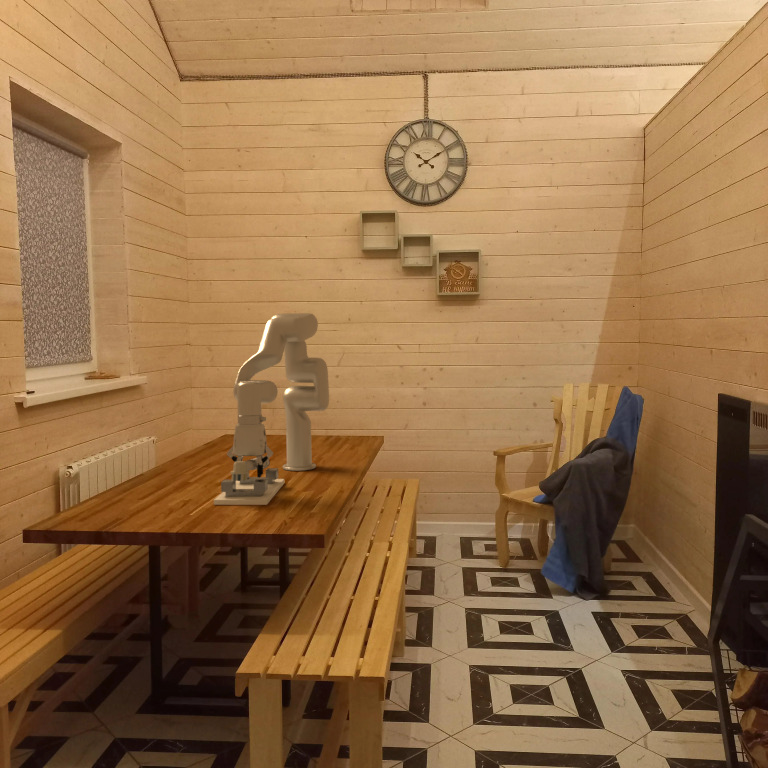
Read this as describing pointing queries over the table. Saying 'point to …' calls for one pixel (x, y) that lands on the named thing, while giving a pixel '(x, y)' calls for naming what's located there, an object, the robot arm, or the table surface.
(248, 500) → the stand board
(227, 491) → the v blocks
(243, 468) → the white handheld device
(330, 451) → the table surface
